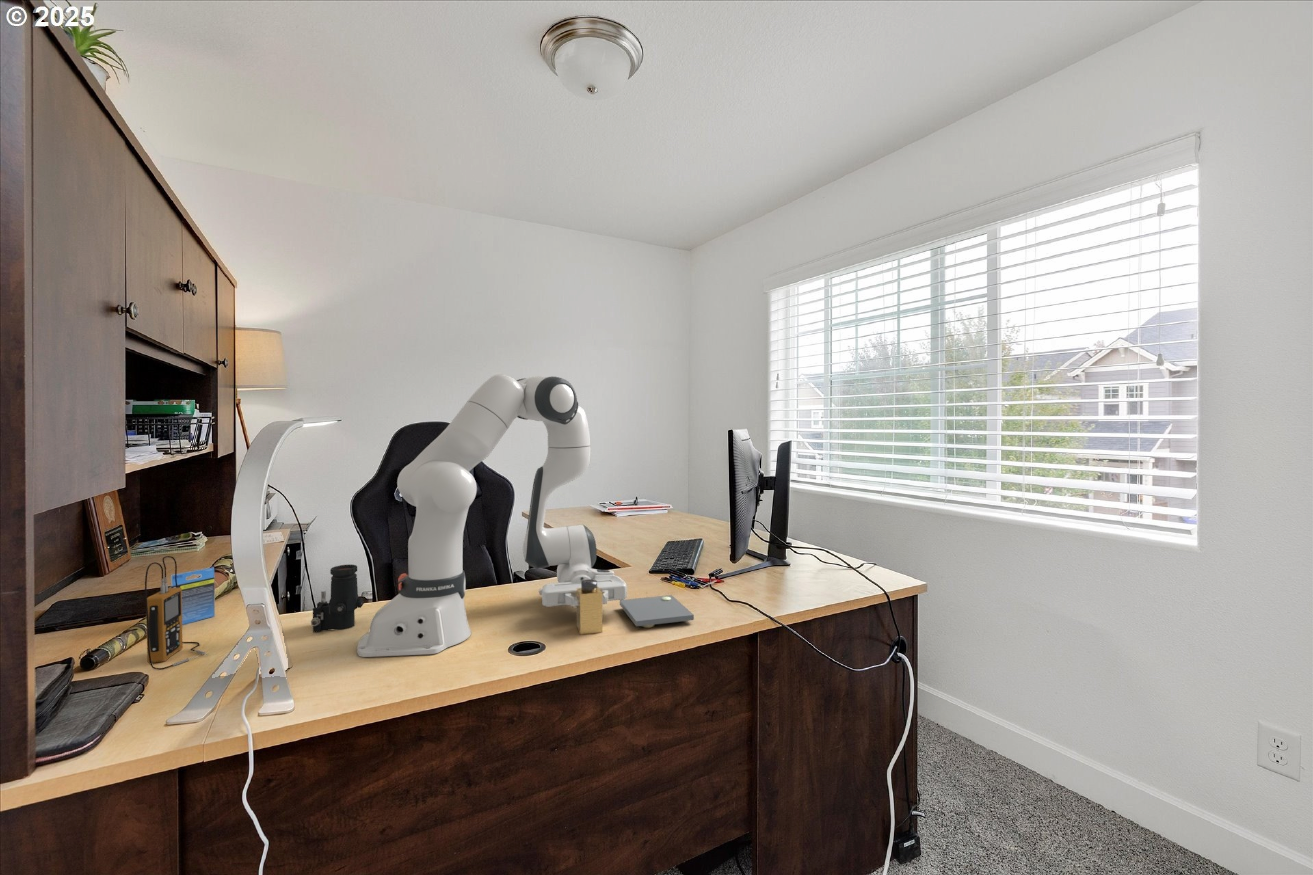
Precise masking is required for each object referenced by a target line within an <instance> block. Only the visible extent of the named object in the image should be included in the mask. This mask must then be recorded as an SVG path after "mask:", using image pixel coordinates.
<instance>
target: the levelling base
mask: <svg viewBox="0 0 1313 875" xmlns="http://www.w3.org/2000/svg"><path fill="white" fill-rule="evenodd" d="M619 606H620V607H621V609H622V610H623V611H624V612H625V614H626V615H627V617H629V619H630V621H631V622H632V623H633V624H634V625H635V627H642V628H652V627H655V625H662V624H669V623H670V624H671V623H679V622H687V621H689V622H690V621H694V620H695V615H694V613H692V611H690V610H689V609H688V608H687V607H686V606H685V605H683V603H682V602H680V601H679V600H678V599H677V598H675V597H674V596H673V595H672V594H670V595H669V594H668V595H660V596H649V597H648V596H647V597H639V598H625V599H624V600H619Z"/></svg>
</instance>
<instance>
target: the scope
mask: <svg viewBox="0 0 1313 875" xmlns="http://www.w3.org/2000/svg"><path fill="white" fill-rule="evenodd" d="M357 572H358V566H357V565H356V564H342V565H335V566H333V567H331V568H330V575H332V576H331V577H330V578H331V579H330V580H331V581H330V599H329V601H327V591H326V590H323V591H321V592H320V593H321V595H320V598H321V599H320V601H319V602H318V603H316V607H313V608H312V618H311V620H310V626H312V633H314V634H315V633H322V631H323V632H324V631H334V630H335V631H336V630H337V631H342V630H349V629H351V628H353V627H355V626H356V625H355V623H356V622H355V616H356V615H355V614H356V613H355V610H357V609H359V608H361V609H362V607H363V605H364V599H363V598H362V597H359V592H358V574H356V573H357Z"/></svg>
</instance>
